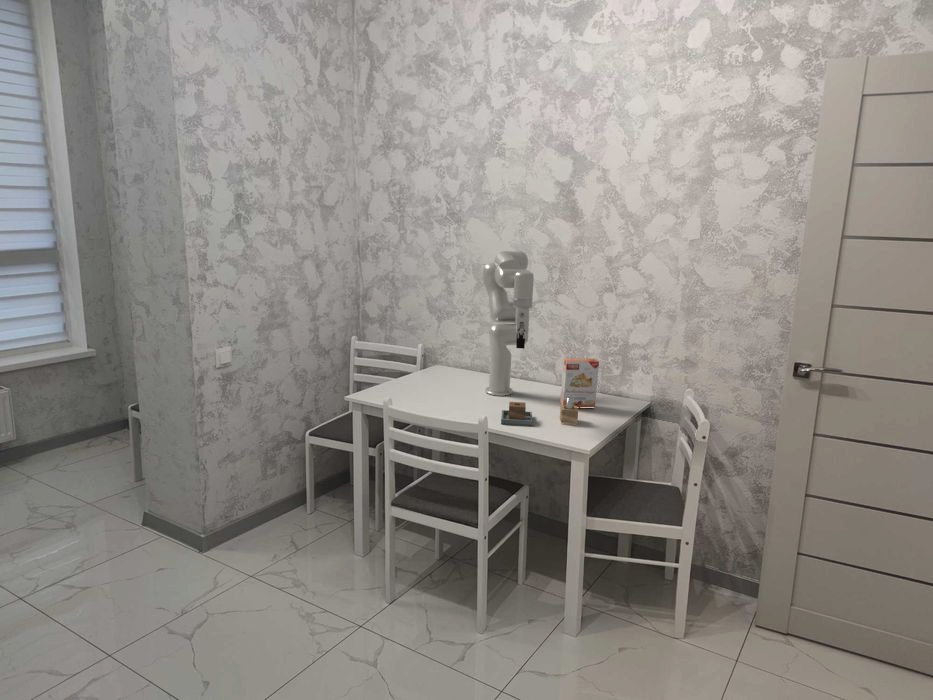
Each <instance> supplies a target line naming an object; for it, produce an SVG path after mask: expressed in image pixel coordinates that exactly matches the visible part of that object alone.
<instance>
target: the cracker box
mask: <svg viewBox="0 0 933 700" xmlns="http://www.w3.org/2000/svg"><path fill="white" fill-rule="evenodd" d="M562 365H563V366H562V377H561V392H560V404H561V405H566V403H567V397H572V398H573V405H572V406H577V407H595V408H596V399H597V398H596V397H597V396H596V395H597V385H598V379H599V377H598V376H599V367H600V362H599V361H598V360H597V359H596V358H577V357H576V358H575V357H573V358H568V357H566V358H563V363H562ZM561 405H560V406H561Z"/></svg>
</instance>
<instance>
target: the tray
mask: <svg viewBox="0 0 933 700" xmlns="http://www.w3.org/2000/svg"><path fill="white" fill-rule="evenodd" d="M500 420H501V421H500V425H507V426H509V425H510V426H523V427H524V426H526V427H533V412H532V411H527V410H526V411H525V420H514V419H509V409H508V410H507V409H502V410H501V418H500Z"/></svg>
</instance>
